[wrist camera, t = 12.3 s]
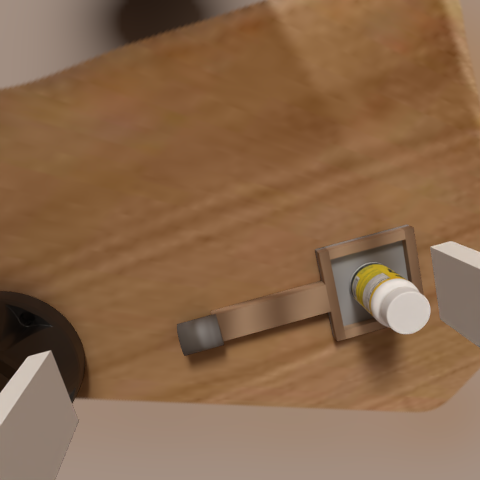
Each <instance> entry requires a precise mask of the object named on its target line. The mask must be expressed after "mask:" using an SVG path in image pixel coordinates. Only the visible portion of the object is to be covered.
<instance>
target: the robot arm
mask: <svg viewBox="0 0 480 480" xmlns="http://www.w3.org/2000/svg"><path fill="white" fill-rule="evenodd" d="M430 249H431V256H432V263H433V270H434V278H435V285H436V292H437V299H438V306H439V314H440V319H441V320H442V321H443V322H445V323H446V324H448V325H449V326H450V327H452V328H453V329H455V330H456V331H457V332H459V333H460V334H462V335H463V336H464V337H466V338H467V339H469V340H470V341H471V342H473V343H474V344H475V345H477V346H478V347H480V252H478V251H475V250H473V249H470V248H468V247H465V246H463V245H460V244H457V243H455V242H452V241H450V242H446V243H443V244H439V245H435V246H432V247H430ZM84 370H85V357H84V351H83V347H82V344H81V341H80V339H79V337H78V335H77V333H76V331H75V330H74V328H73V327H72V325H71V324H70V323H69V322H68V320H67V319H66V318H65V317H64V316H63V315H62V314H61V313H59V312H58V311H57V310H56V309H54V308H53V307H51V306H50V305H48V304H47V303H45V302H43V301H41V300H39V299H36V298H34V297H31V296H28V295H24V294H20V293H15V292H4V291H0V480H55V479H56V476H57V474H58V471H59V469H60V466H61V464H62V461H63V459H64V456H65V454H66V451H67V449H68V446H69V444H70V441H71V439H72V436H73V434H74V432H75V429H76V427H77V424H78V421H79V420H78V418H77V415H76V413H75V410H74V407H73V405H72V403H73V401H74V399H75V397H76V395H77V393H78V391H79V388H80V386H81V383H82V380H83V377H84Z"/></svg>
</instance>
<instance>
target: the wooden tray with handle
mask: <svg viewBox="0 0 480 480" xmlns="http://www.w3.org/2000/svg"><path fill="white" fill-rule="evenodd" d="M315 252H316V257H317V262H318V267H319V271H320V276H321V281H319V282H315V283H311V284H308V285H304V286H300V287H297V288H293V289H289V290H286V291H282V292H278V293H275V294H271V295H267V296H264V297H260V298H256V299H253V300H249V301H245V302H242V303H238V304H235V305H231V306H227V307H224V308H220V309H216V310H213V311H211V315H209V316H205V317H202V318H198V319H195V320H191V321H187V322H184V323H180V324H177V332H178V337H179V342H180V345H181V349H182V351H183V354H184V355H185V356H186V355H189V354H193V353H197V352H200V351H204V350H207V349H211V348H215V347H218V346H222V345H224V341H227V340H230V339H234V338H238V337H241V336H245V335H248V334H252V333H256V332H259V331H263V330H266V329H270V328H274V327H277V326H281V325H284V324H288V323H292V322H295V321H299V320H302V319H306V318H310V317H313V316H317V315H320V314H324V313H328V314H329V319H330V324H331V329H332V333H333V336H334V338H335V339H336V341H341V340H344V339H348V338H351V337H355V336H358V335H362V334H365V333H369V332H373V331H376V330H380V329H383V328H387V326H384V325H382V324H381V323H379V322H378V321H377V320H376V319H375V318H374V317H373V316H372V315H371V314H370V313H369V312H368V311H367V310H366V309H365V308H364V307H363V306H362V305H361V304H359V303H358V302H357V301H356V300H355V299H354V297H353V296H352V294H351V291H350V280H351V277H352V275H353V273H354V272H355V271H356V270H357V269H358V268H359V267H360V266H362V265H364V264H366V263H370V262H376V263H380V264H383V265H385V266H386V267H388V268H390V269H391V270H393V271H394V272H396V273H397V274H399V275H400V276H402V277H404V278H405V279H407V280H408V281H410V282H411V283H413V284H414V285H415V286H416V287H417V289H418V290H419V292H420V293H421V294H422V295H423V296H424V294H423V288H422V281H421V274H420V267H419V261H418V254H417V247H416V240H415V234H414V227H411V226H409V225H404V226H400V227H397V228H393V229H389V230H385V231H382V232H378V233H374V234H371V235H367V236H363V237H360V238H356V239H352V240H348V241H345V242H341V243H337V244H334V245H330V246H326V247H322V248H319V249H315Z"/></svg>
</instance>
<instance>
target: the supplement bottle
mask: <svg viewBox="0 0 480 480" xmlns="http://www.w3.org/2000/svg"><path fill="white" fill-rule="evenodd" d="M350 291H351V294H352V296H353V297H354V299H355V300H356V301H357V302H358V303H359V304H361V305H362V306H363V307H364V308H365V309H366V310H367V311H368V312H369V313H370V314H371V315H372V316H373V317H374V318H375V319H376V320H377V321H378V322H379V323H381V324H382V325H384V326H387V327H390V328H391V329H393V330H394V331H395V332H397V333H400V334H412V333H415V332H417V331H419V330H420V329H421V328H423V327H424V325H425V324H426V323H427V321H428V319H429V317H430V304H429V302H428V300H427V299H426V297H425V296H423V295H422V294H421V293H420V292H419V290H418V289H417V287H416V286H415V285H414V284H413V283H411V282H410V281H408V280H407V279H405V278H404V277H402V276H400V275H399V274H397V273H396V272H394V271H393V270H391V269H390V268H388V267H386V266H385V265H383V264H380V263H376V262H370V263H366V264H364V265H362V266H360V267H359V268H358V269H357V270H356V271H355V272H354V273H353V275H352V277H351V280H350Z"/></svg>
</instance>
